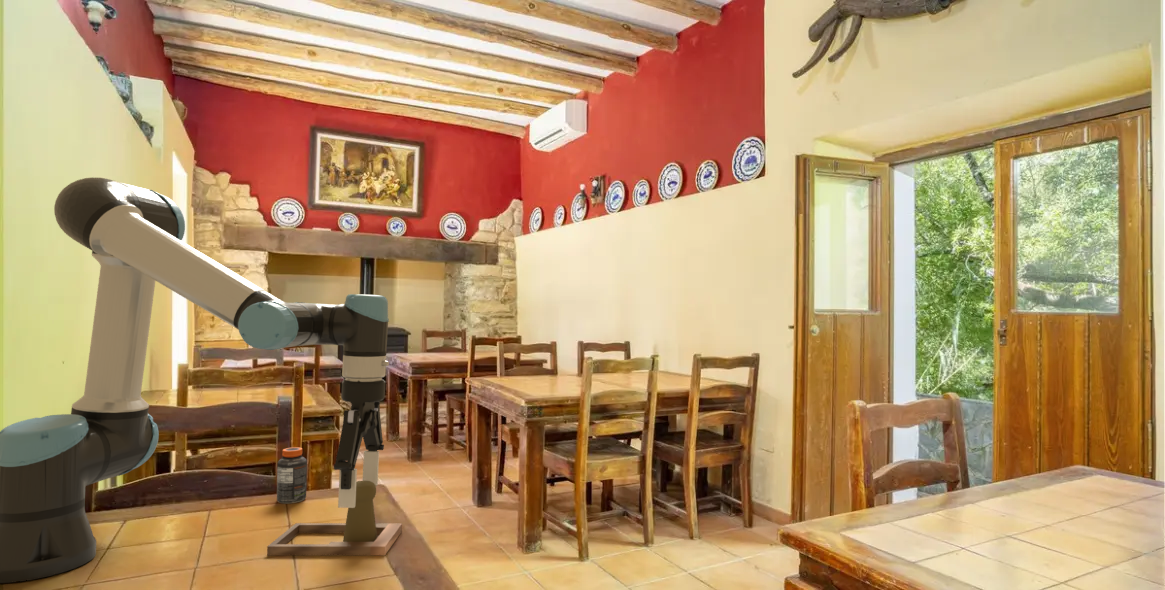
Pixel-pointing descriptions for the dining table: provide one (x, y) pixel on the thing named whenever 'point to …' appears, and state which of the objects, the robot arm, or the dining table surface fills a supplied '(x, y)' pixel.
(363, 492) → the olive rounded upright piece
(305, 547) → the keyhole board
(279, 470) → the pill bottle
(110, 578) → the dining table surface
